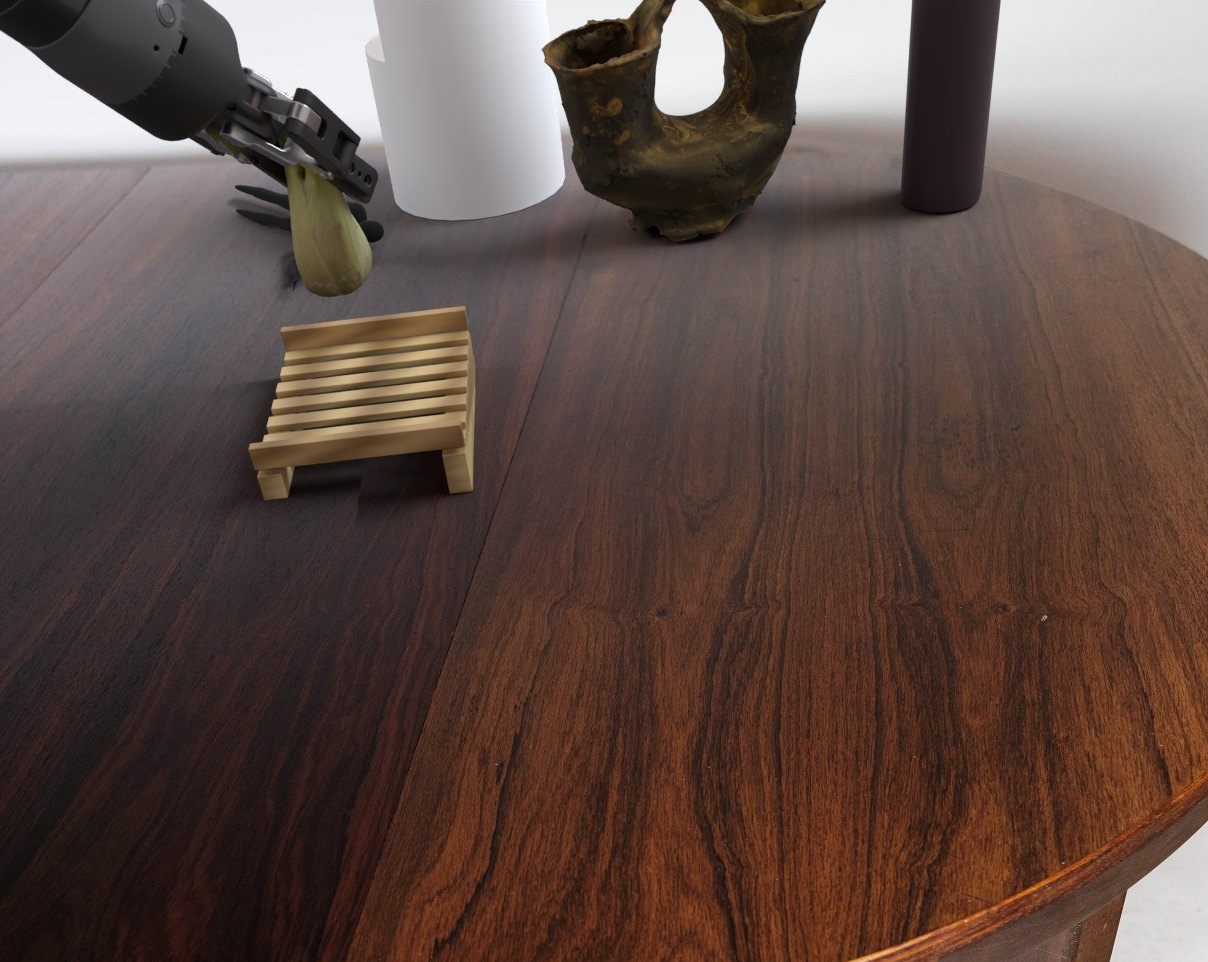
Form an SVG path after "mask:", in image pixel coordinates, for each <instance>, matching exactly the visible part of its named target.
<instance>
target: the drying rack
mask: <svg viewBox="0 0 1208 962" xmlns="http://www.w3.org/2000/svg"><path fill="white" fill-rule="evenodd" d="M280 336H281V339H282V342H283V346H284V349H285V351H286V352H285V354H284V358H283V363H284V366H282V367H281V370H280V372H279V373H280V374H279V378H280V381H281V382H277V385H276V389H275V396H276V399H273V401H272V405H271V409H270V410H271V414H272V416H268V420H267V423H266V430H267V433H268V434H264V435H263V439H262V441H260V442H252V443H249V446H248V453H249V456H250V460H251V462H252V465H253V468H254V471H258V473H257V477H256V478H257V481H258V485H259V487H260V491H261V493H262V497H263V500H264V501H270V500H279V499H280V500H281V499H288V498H289V494H290V489H291V486H292V480H293V477H294V471H295V467H300V466H308V465H316V464H317V465H318V464H326V463H334V462H335V463H336V462H343V461H351V460H361V459H371V458H378V457H386V456H395V455H404V454H405V455H406V454H411V453H412V454H413V453H421V452H430V451H438V450H442V453H441V457H442V462H443V463H442V464H443V467H444V472H445V476H446V483H447V487H448V491H449V494H451V495H452V494H459V493H469V492H473V491H474V464H475V463H474V462H475V461H474V458H475V422H476V421H475V419H476V418H475V415H476V414H475V413H476V412H475V411H476V372H477V371H476V369H477V367H476V361H475V356H474V355H475V354H474V349H473V344H472V338H471V333H470V331H469V320H468V315H467V309H466V306H465V305H459V306H453V307H445V308H444V307H443V308H435V309H428V310H427V309H426V310H419V311H409V312H401V313H393V314H384V315H383V314H382V315H375V316H367V317H358V318H350V319H340V320H333V321H324V322H316V323H306V324H298V325H289V326H282V327H281V329H280ZM434 414H435V415H434ZM425 415H426V416H425ZM406 417H408V418H406ZM389 419H390V420H389ZM380 420H381V421H380ZM364 422H365V423H364ZM321 427H322V428H321Z"/></svg>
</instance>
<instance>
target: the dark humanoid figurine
mask: <svg viewBox="0 0 1208 962" xmlns="http://www.w3.org/2000/svg"><path fill="white" fill-rule="evenodd" d="M234 189H235V190H237V191H239V192H241V193H244V194H247V195H250V196H252V197H254V198H256V199H258V200H261V201H264V202H266V203H270V204H273V205H277V206H279V207H281V208H283V209H284V210H286V211H288V212H290V204H289V197H288V193H287V194H286V193H280V192H276V191H273V190H270V189H267V188H264V187H260V186H253V185H245V184H236V185H234ZM345 201H346V203H347V205H348V207H349V209H350V212H351V214H352V215H353V217H354V218H355V220H356V221H357V223H358V224H359V226H360V227H361V229H362V231H363V233H364V235H365V236H366V239H367V241H368V243H369V244H373V243H377V242H379V241H380V240H382V238H383V237H384V234H385V230H384V226H383V224H382V223H381V222H379V221H377V220H372V219H368V214H367V211H366V208H365V207H364V205H362V203H359V202H356V201H349V200H345ZM235 212H236V213H237V214H238V215H240V216H242V217H245V218H247V219H249V220H252V221H253V222H256V223H259V224H264V225H267V226H273V227H276V228H278V229H281V230H283V231H287V232H292V229H291V217H285V216H279V215H275V214H271V213H267V212H261V211H260V212H259V211H253V210H248V209H243V208H237V209H235ZM287 273H288V276H289V277H290V281H288V282H287V283H289V284H292V292H293V293H294V292H295V290H296V287H297V284H298V283H299V282H300V280H299V276H300V273H299V270H298V267H297V264H296V260H295V258H293V259H292V260H290V261H289V264H288V265H287Z"/></svg>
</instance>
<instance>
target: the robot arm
mask: <svg viewBox="0 0 1208 962" xmlns="http://www.w3.org/2000/svg"><path fill="white" fill-rule="evenodd" d="M0 32H1V33H2V34H5V35H6V36H7V37H9V38H10V39H12V40H13V41H15V42H17V43H18V44H19V45H21V46H23V47H24V48H25V49H27V50H28V51H29V52H31V53H32V54H33V55H34V56H35V57H37V58H38V60H40V61H41V62H42V63H43V64H45V65H46V66H47V67H48V68H49V69H51V70H52V71H53V72H55V73H56V74H57V75H58V76H60V77H62V78H63V79H64V80H65V81H67V82H68V83H71V84H72V85H74V86H76V87H77V88H78V89H80V90H82V91H83V92H85V93H87V94H88V95H89V96H91V97H93V98H94V99H96V100H97V101H98V102H100V103H101V104H103V105H105V106H106V107H108V108H109V109H111V110H113V112H115V113H117V114H119V115H120V116H122V117H123V118H125V119H126V120H128V121H130V122H131V123H132V124H134V125H136V126H137V127H139V128H140V129H142V130H143V131H145V132H147V133H148V134H149V135H151V136H152V137H155V138H156V139H159V140H161V141H166V142H179V141H184V140H188V139H189V140H191V141H193V142H194V143H196V144H197V145H199V146H201V147H203V148H204V149H207V150H208V151H209V152H210V153H211V154H213V155H215V156H221V157H225V156H226V155H227V156H231V157H232V158H234V159H235V160H236V161H237V162H238V163H240V164H242V165H249V166H251V165H252V166H254V167H255V168H256V169H258V170H260V171H261V172H263V173H264V174H265V175H267V176H269V178H271V179H273V180H274V181H276V182H277V183H279V184H280V185H282V186H283V187H285V188H286V189H287V180H286V174H285V169H284V166H286V167H288V166H292V165H296V164H299V165H300V166H302V167H304V168H306V169H308V170H310V171H311V172H313V173H315V174H317V175H318V176H319V177H320V178H322V179H325V180H326V181H328V182H329V183H330V184H332V185H333V186H335V187H337V188H338V189H339V190H340V191H342V193H343V194H344V195H346V196H347V197H348V198H350V199H352V200H353V202H355V203H359V204H365V205H367V204H369V203H370V202H371V201H372V198H373V195H374V193H375V190H376V186H377V184H378V181H379V173H378V170H377V169H376V168H375V167H374V166H372V165H371V164H369V163H368V162H367V161H366V160H365V159H363V158H362V157H360V156H359V155H357V154H356V152H357V150H358V148H359V146H360V143H361V140H362V138H361V136H359V135H358V133H356V132H355V131H354V130H353V129H352V128H351V127H350V126H349V125H348V124H347V123H346V122H344V120H342V119H341V118H340V117H339V116H338V115H337V114H336V113H335V112H334V111H333V110H332V109H331V108H329V107H328V105H327V104H325V103H324V102H323V101H322V100H321V99H320V98H319V97H318V96H317V95H316V94H314V93H313V92H312V91H311V90H310V89H308V88H302V87H296V88H295V90H294V91H295V92H294V94H293V96H294V97H293V98H292V96H291V97H290V95H288V93H287V94H285V93H283V92H284V91H282V90H279V89H278V88H276V87H275V86H274V85H273V83H272V81H271V80H270V79H269V78H268V77H266V76H264V75H263V74H260V73H259V72H257V71H255V70H254V69H251V68H250V67H246V66H242V62H241V58H240V53H239V46H238V41H237V37H236V34H235V32H234V29H233V27H232V25H231V24H230V22H229V21H228V20H227V18H226V17H225V16H224V15H223V14H221V13H220V12H219V11H218V10H217V9H215V8H214V7H213V6H212V5H210V4H209V3H208V2H207V1H205V0H0ZM283 126H284V127H283ZM282 129H283V130H282ZM281 132H283V133H284V134H285V135H286V136H287V140H286V143H285V146H284V148H283V150H282V149H280V144H279V138H280V135H281ZM304 151H305V152H306V153H308V154H309V155H310V156H311V157H310V156H309V155H307V154H306V153H305V152H304Z"/></svg>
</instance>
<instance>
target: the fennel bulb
mask: <svg viewBox="0 0 1208 962" xmlns="http://www.w3.org/2000/svg"><path fill="white" fill-rule="evenodd" d="M282 92H283V93H285V94H287V95H288V92H286V91H282ZM289 96H290V95H289ZM290 97H292V98H293V97H294V95H291V96H290ZM283 127H284V126H283ZM282 130H283V129H282ZM286 140H287V136H286V135H285V134H284V133H283V132H281V135H280V138H279V144H280V149H282V150H283V148H284V146H285V143H286ZM304 152H305V151H304ZM305 153H306V152H305ZM306 154H307V155H309V154H308V153H306ZM309 156H310V155H309ZM310 157H311V156H310ZM284 169H285V174H286V180H287V188H286V189H287V195H288V197H289V204H290V211H289V215H290V217H289V218H291V229H292V231H291V239H292V246H293V247H292V249H293V254H294V259H295V260H296V264H297V267H298V270H299V276H300V277H301V280H302V284H303V286H304V287H305V289H306V290H307V291H308V292H310V293H311V294H313V295H316V296H318V297H323V298H335V297H339V296H347V295H350V294H352V293H354V292H356V291H357V290H358V289H360V288H361V287H362V286H363V285H364V284H365V283H366V281H367V280H368V279H369V277H370V275H371V273H372V269H373V255H372V249H371V245H370V243H368V241H367V239H366V236H365V235H364V233H363V231H362V229H361V227H360V226H359V224H358V223H357V221H356V220H355V218H354V217H353V215H352V214H351V212H350V209H349V207H348V205H347V203H346V201H347V200H346V198H345V196H344V193H343V192H342V191H340V190H339V189H338V188H337V187H335V186H333V185H332V184H330V183H329V182H328V181H326V180H325V179H322V178H320V177H319V176H318V175H317V174H315V173H313V172H311V171H310V170H308V169H306V168H304V167H302V166H300V165H299V164H296V165H292V166H288V167H286V166H284Z"/></svg>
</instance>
